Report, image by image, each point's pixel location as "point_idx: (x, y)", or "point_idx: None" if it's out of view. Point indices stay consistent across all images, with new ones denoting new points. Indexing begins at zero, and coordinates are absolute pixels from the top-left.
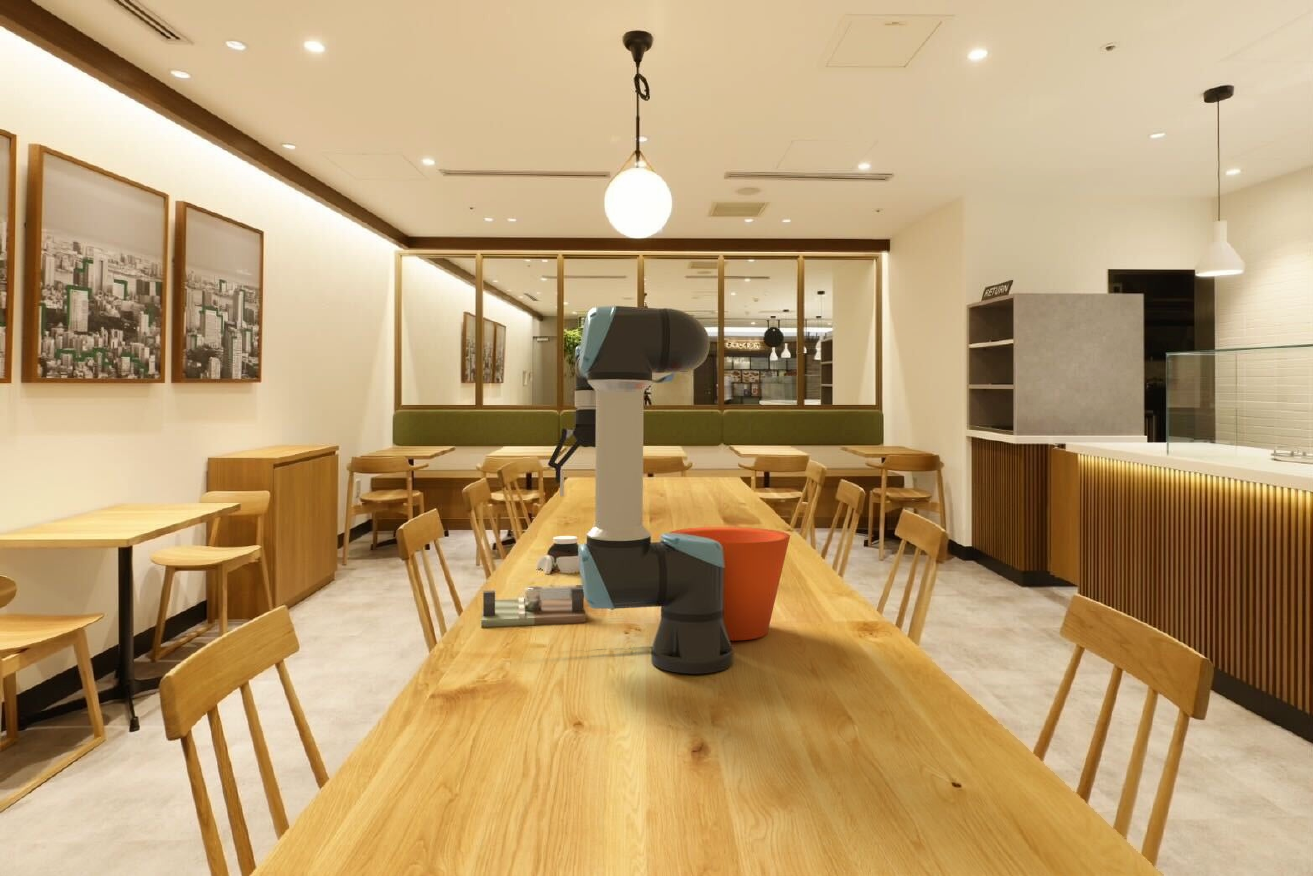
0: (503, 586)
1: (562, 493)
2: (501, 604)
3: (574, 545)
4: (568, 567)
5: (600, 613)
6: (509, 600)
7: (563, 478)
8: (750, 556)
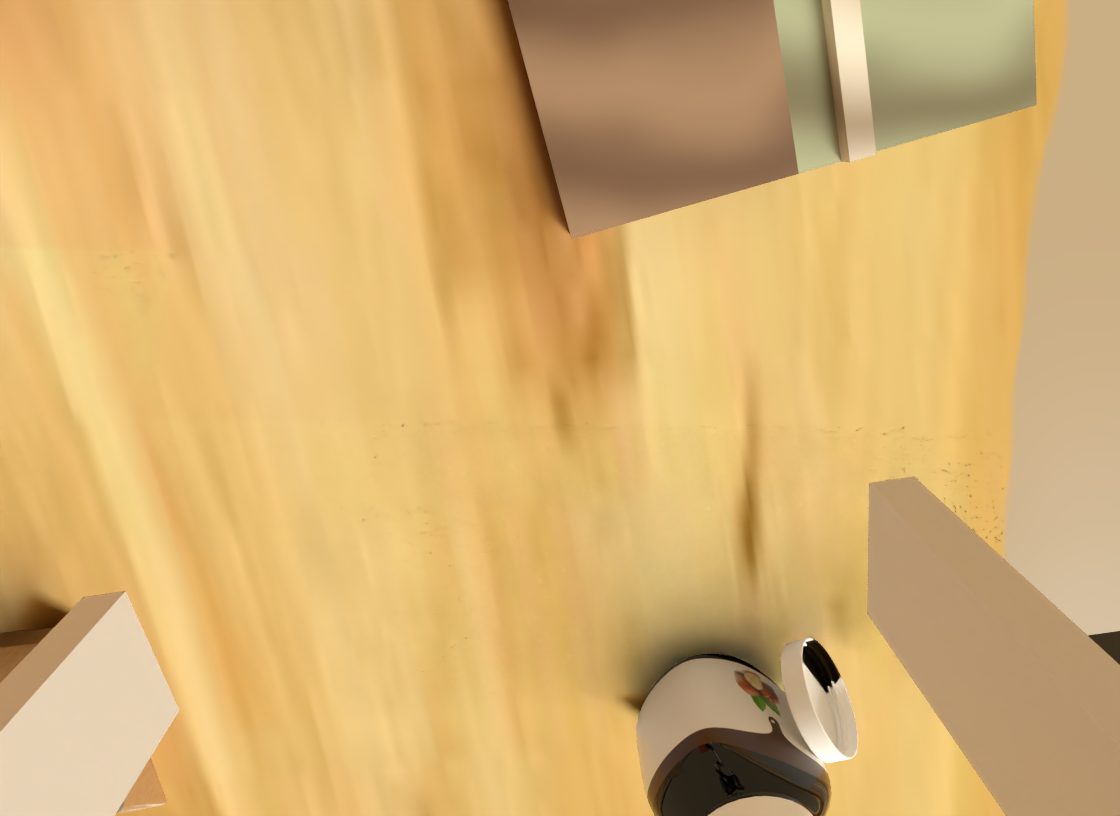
0: None
1: (903, 505)
2: (941, 9)
3: (699, 809)
4: (700, 686)
5: (418, 10)
6: (908, 113)
7: (1037, 694)
8: None
